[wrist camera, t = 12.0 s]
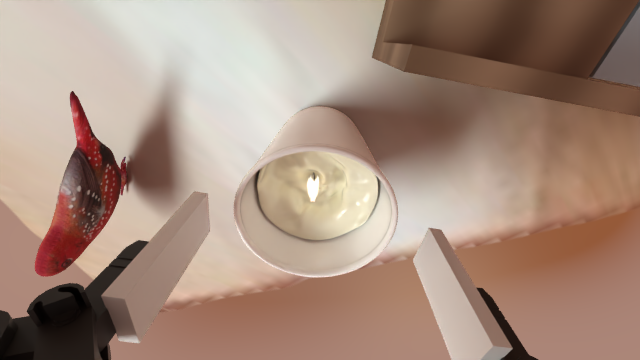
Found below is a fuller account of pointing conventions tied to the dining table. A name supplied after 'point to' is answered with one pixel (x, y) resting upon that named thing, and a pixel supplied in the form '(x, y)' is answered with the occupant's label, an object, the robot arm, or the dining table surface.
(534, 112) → the dining table surface
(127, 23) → the dining table surface
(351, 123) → the candle holder
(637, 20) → the pale grey panel
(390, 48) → the small wooden shelf
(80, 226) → the decorative bird figurine
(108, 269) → the robot arm
